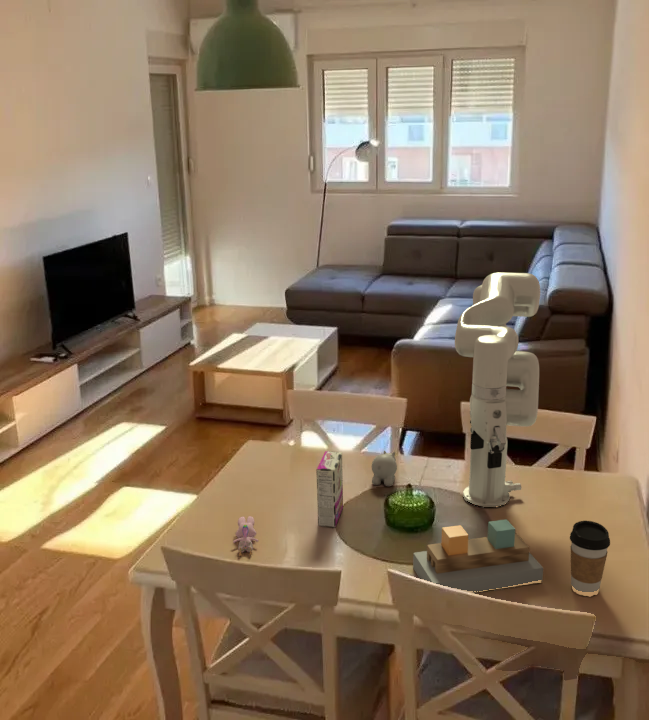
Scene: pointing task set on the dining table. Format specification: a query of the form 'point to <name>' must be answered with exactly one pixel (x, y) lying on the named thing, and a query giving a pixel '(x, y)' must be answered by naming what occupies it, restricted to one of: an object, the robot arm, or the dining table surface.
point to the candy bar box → (329, 489)
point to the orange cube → (454, 540)
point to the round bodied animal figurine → (384, 469)
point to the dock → (480, 574)
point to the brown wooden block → (477, 555)
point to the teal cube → (501, 534)
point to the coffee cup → (588, 555)
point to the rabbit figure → (245, 534)
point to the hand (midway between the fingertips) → (485, 457)
